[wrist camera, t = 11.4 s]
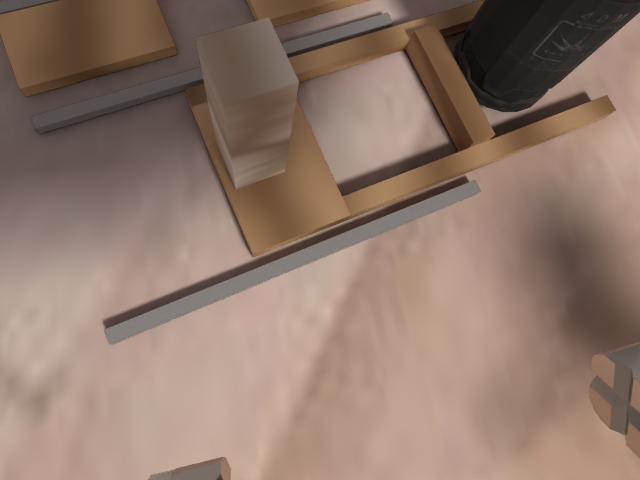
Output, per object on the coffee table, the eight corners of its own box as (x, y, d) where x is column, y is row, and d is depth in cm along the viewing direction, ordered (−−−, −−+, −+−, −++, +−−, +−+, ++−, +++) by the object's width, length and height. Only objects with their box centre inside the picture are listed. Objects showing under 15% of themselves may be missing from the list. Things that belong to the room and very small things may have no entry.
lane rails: (338, -72, 32) (340, -79, 31) (476, 194, 28) (480, 191, 28) (-4, 10, 27) (-10, 3, 26) (112, 344, 23) (108, 344, 23)
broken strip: (351, -61, 32) (353, -71, 31) (381, -4, 31) (384, -13, 30) (1, 25, 27) (-6, 16, 26) (26, 96, 26) (19, 88, 25)
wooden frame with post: (531, -7, 33) (646, -156, 23) (604, 117, 31) (762, 13, 21) (186, 98, 27) (147, -40, 17) (252, 257, 25) (250, 202, 16)
